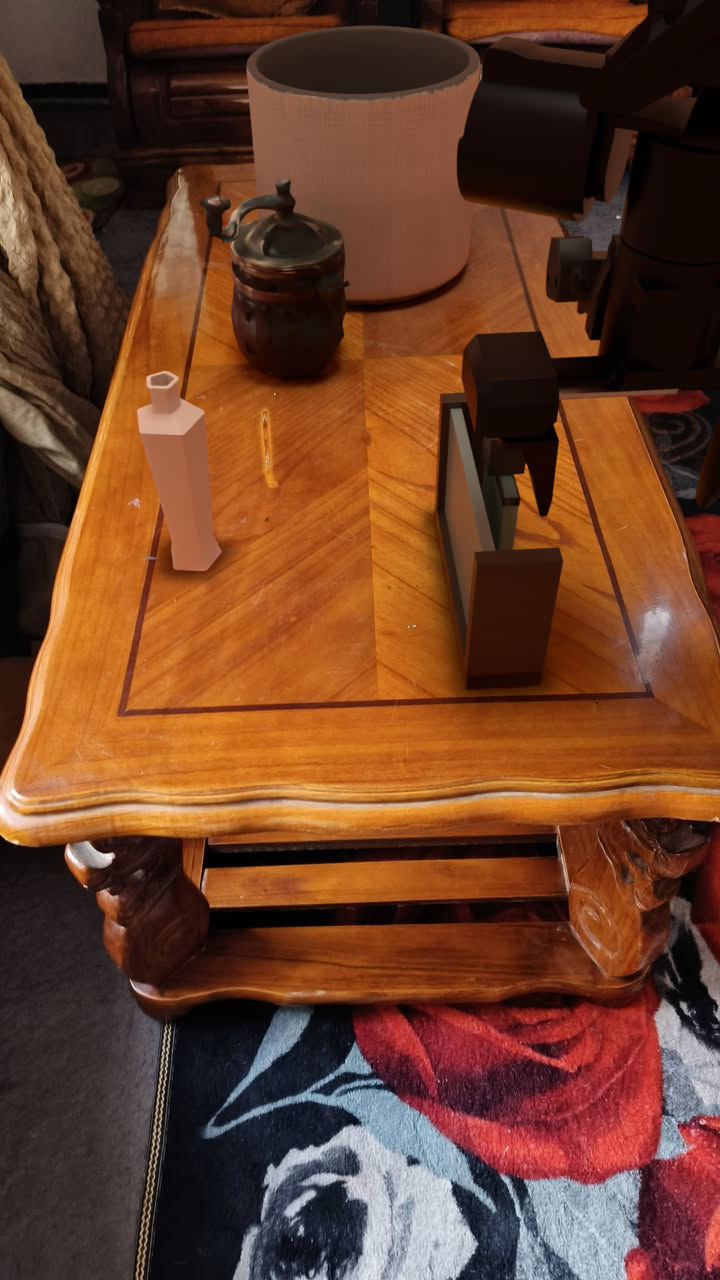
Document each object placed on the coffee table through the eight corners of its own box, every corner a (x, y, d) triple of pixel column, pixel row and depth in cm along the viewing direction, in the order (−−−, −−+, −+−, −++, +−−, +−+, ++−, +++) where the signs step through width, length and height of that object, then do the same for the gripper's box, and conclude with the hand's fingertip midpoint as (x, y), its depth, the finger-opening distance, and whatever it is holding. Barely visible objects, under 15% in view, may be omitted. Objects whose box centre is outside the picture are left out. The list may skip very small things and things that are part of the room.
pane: (500, 529, 71) (516, 395, 63) (517, 595, 66) (536, 460, 58) (468, 530, 71) (479, 397, 63) (483, 597, 66) (497, 462, 58)
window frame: (497, 512, 75) (510, 389, 67) (540, 685, 63) (563, 560, 55) (434, 516, 75) (439, 393, 67) (465, 690, 63) (476, 565, 55)
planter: (448, 213, 114) (457, 18, 99) (488, 304, 98) (506, 88, 84) (258, 227, 112) (239, 30, 98) (269, 321, 97) (248, 104, 82)
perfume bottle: (230, 536, 74) (204, 361, 63) (219, 575, 71) (189, 398, 60) (172, 533, 74) (136, 359, 63) (158, 571, 71) (118, 395, 60)
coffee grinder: (187, 393, 88) (153, 192, 75) (263, 319, 97) (244, 129, 84) (311, 424, 84) (298, 217, 71) (378, 344, 93) (377, 148, 80)
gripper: (816, 161, 49) (735, 420, 61) (456, 176, 49) (442, 434, 60) (915, 258, 42) (801, 533, 53) (490, 278, 41) (466, 551, 52)
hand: (621, 507), depth 55 cm, fingers open, 9 cm apart
